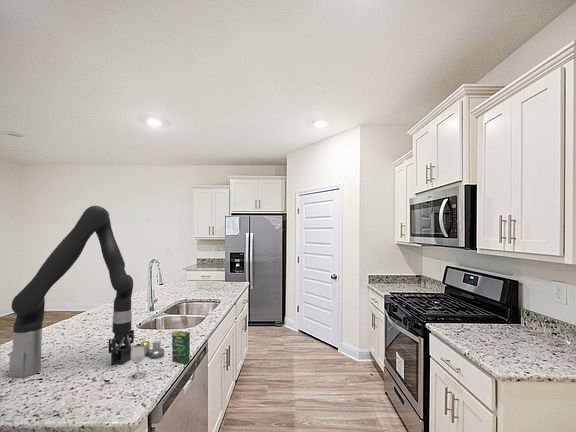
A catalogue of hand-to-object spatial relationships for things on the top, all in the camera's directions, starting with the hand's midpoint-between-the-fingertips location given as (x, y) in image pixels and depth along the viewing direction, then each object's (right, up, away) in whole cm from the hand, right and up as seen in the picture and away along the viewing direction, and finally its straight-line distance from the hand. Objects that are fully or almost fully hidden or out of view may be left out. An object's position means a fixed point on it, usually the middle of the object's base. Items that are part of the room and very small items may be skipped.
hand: (121, 358), depth 145 cm
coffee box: (+26, -2, 0) cm, 26 cm away
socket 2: (+5, -2, +12) cm, 13 cm away
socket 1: (0, -1, 0) cm, 1 cm away
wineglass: (+14, -1, -15) cm, 20 cm away
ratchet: (+8, -2, +7) cm, 10 cm away
